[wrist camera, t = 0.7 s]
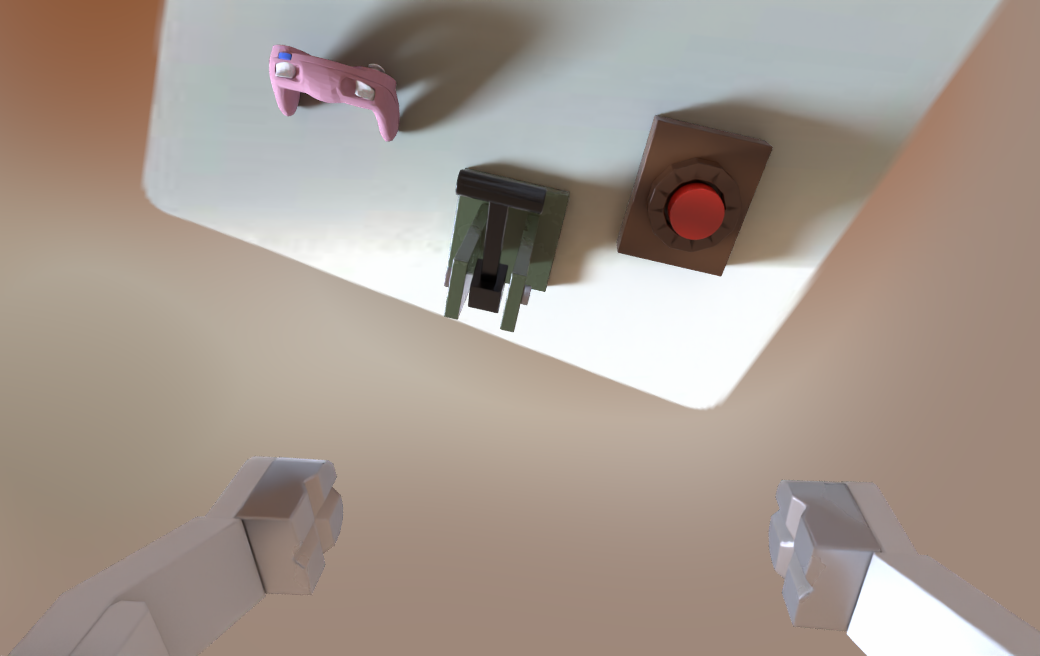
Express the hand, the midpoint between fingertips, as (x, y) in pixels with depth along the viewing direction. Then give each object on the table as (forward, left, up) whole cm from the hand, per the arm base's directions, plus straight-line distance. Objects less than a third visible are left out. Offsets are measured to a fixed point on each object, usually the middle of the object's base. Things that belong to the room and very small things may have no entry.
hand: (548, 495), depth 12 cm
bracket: (+11, -4, -43) cm, 45 cm away
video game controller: (+3, -19, -43) cm, 47 cm away
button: (+4, +10, -40) cm, 41 cm away
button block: (+5, +10, -43) cm, 45 cm away
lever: (+6, -4, -30) cm, 31 cm away
